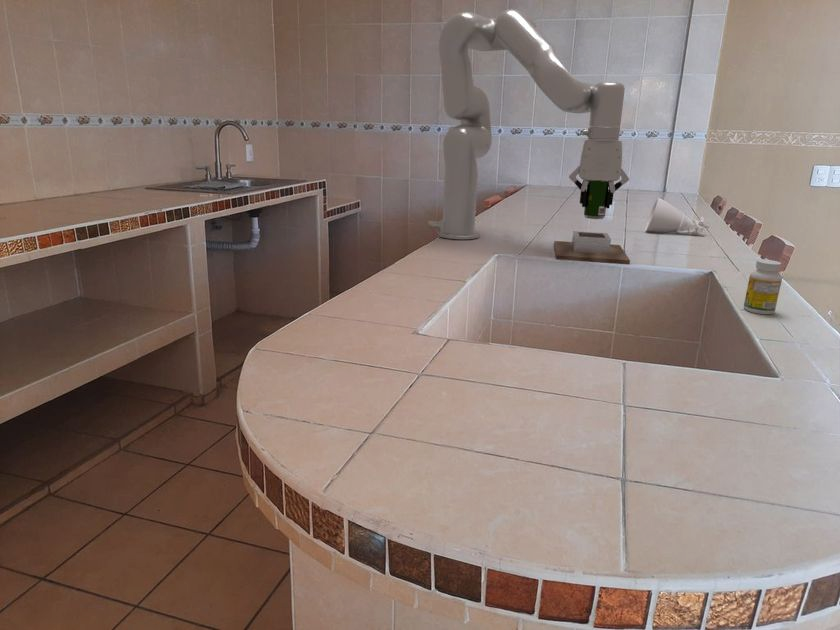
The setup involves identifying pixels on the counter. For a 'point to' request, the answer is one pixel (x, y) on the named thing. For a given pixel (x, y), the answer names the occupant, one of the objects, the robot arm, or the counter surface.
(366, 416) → the counter surface
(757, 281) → the supplement bottle
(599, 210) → the beer can
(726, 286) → the counter surface
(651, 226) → the rocket engine
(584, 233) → the cap board
